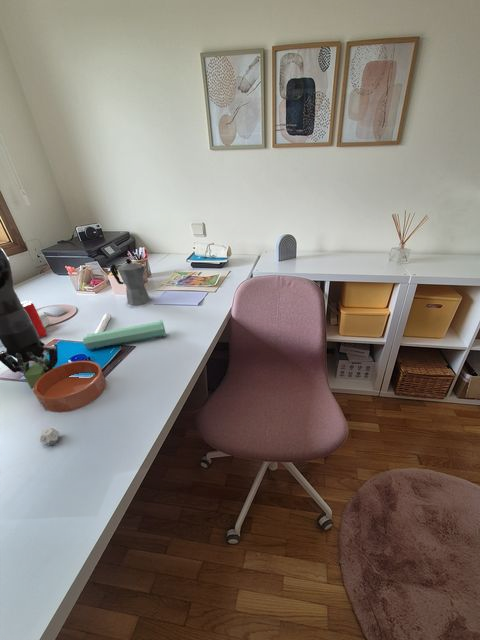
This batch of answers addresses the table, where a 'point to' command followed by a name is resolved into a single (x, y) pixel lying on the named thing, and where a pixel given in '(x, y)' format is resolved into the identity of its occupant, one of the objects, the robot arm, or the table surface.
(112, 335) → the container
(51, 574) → the table surface
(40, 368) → the sponge
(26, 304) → the beverage can
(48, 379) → the basin
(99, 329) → the marker
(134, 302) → the coffeepot
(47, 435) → the grey rock
